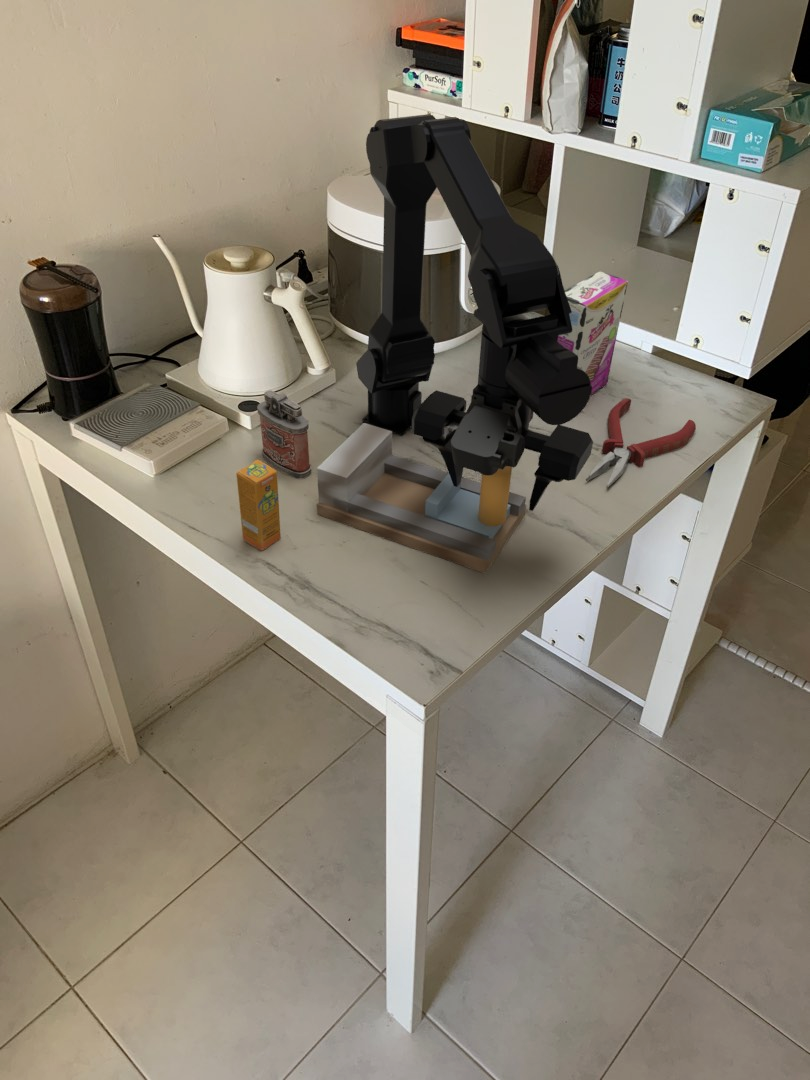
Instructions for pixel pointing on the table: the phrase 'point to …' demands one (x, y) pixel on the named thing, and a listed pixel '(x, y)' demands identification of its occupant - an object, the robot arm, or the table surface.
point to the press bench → (402, 500)
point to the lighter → (284, 435)
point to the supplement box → (259, 504)
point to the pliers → (634, 445)
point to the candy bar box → (595, 324)
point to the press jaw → (473, 504)
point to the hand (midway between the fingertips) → (494, 496)
